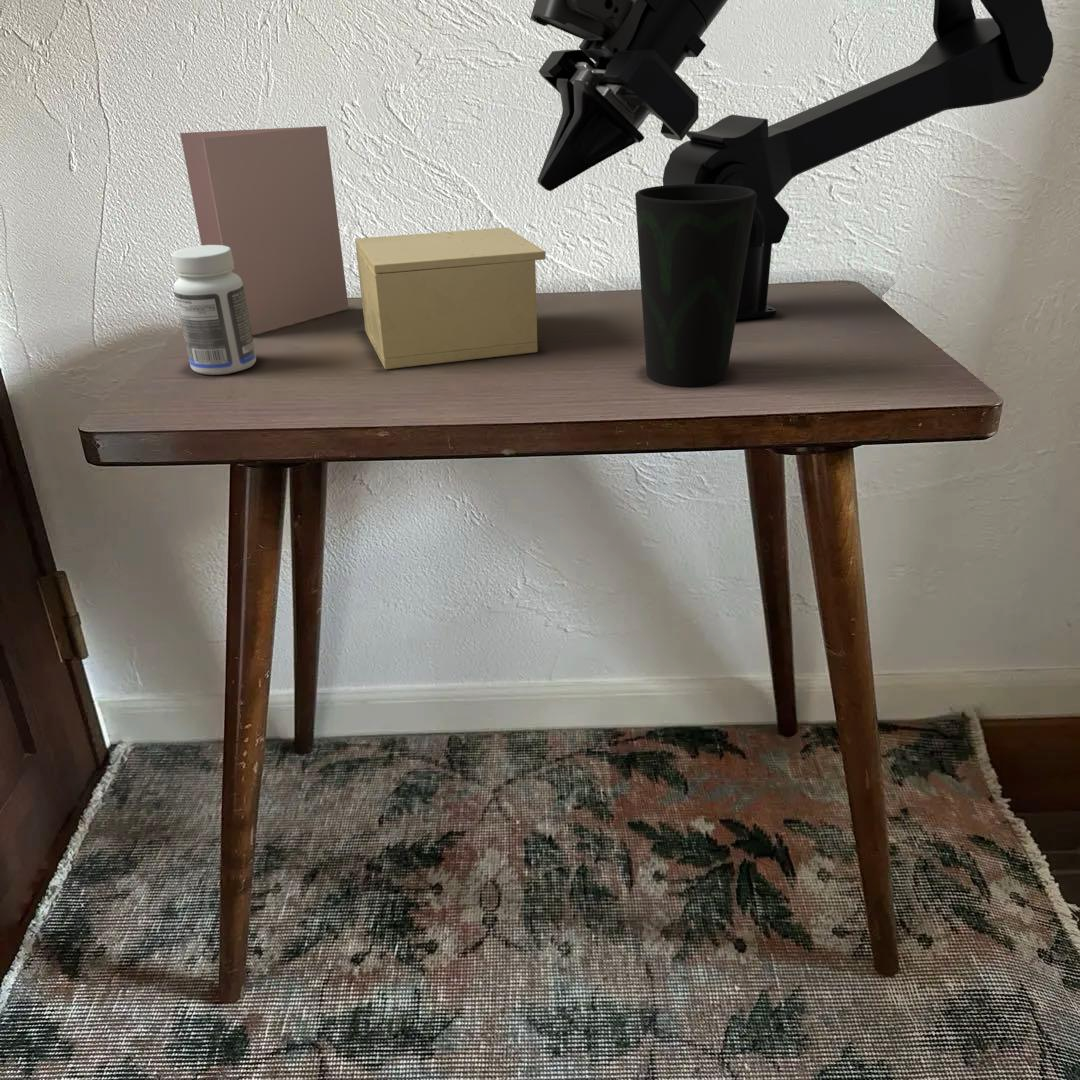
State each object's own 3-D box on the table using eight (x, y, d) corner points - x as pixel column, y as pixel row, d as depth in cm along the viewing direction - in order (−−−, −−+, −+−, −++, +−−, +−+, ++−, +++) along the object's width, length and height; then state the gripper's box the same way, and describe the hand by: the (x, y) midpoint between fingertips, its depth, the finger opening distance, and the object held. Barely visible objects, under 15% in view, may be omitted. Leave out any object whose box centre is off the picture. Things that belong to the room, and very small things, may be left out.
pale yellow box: (501, 318, 80) (498, 235, 76) (537, 352, 71) (535, 260, 67) (365, 332, 77) (355, 247, 74) (384, 369, 68) (374, 274, 65)
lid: (507, 234, 77) (507, 227, 76) (546, 259, 68) (545, 251, 67) (355, 246, 74) (354, 238, 73) (374, 273, 65) (373, 265, 64)
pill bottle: (237, 352, 72) (216, 240, 68) (268, 365, 69) (249, 248, 65) (179, 367, 70) (154, 251, 66) (209, 380, 67) (185, 260, 63)
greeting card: (347, 306, 84) (325, 125, 77) (355, 327, 78) (331, 132, 71) (216, 318, 82) (180, 132, 75) (212, 340, 76) (173, 140, 69)
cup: (758, 387, 62) (775, 197, 57) (647, 396, 61) (653, 204, 56) (720, 353, 69) (732, 181, 63) (619, 361, 68) (622, 187, 62)
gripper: (553, -69, 71) (433, 107, 74) (649, -103, 56) (492, 122, 59) (652, 37, 77) (537, 196, 80) (765, 33, 61) (616, 233, 64)
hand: (543, 186), depth 70 cm, fingers closed
